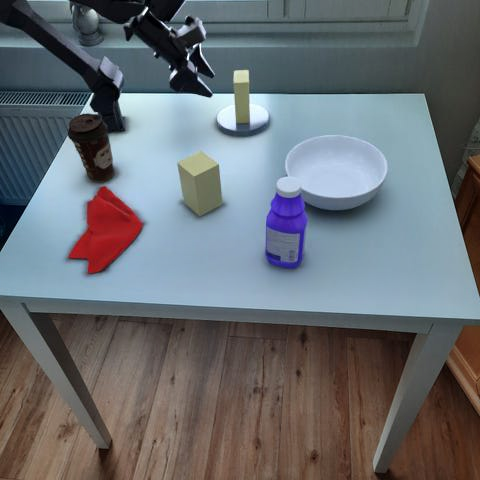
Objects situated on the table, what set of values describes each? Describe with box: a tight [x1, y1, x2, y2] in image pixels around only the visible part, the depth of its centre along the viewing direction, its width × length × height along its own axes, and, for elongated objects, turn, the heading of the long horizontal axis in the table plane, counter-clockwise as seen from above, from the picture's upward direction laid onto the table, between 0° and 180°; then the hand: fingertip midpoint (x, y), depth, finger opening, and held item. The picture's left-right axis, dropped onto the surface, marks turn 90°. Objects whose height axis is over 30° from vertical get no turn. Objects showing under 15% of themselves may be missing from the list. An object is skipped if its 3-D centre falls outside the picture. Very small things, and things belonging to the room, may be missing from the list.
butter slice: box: [233, 69, 251, 123], centre depth 114 cm, size 4×6×10 cm, turn 0°
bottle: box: [264, 176, 308, 269], centre depth 83 cm, size 7×6×17 cm
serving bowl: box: [284, 134, 389, 211], centre depth 99 cm, size 21×21×7 cm
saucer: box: [216, 103, 270, 138], centre depth 119 cm, size 13×13×2 cm
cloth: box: [67, 185, 144, 275], centre depth 96 cm, size 26×14×2 cm, turn 177°
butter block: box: [176, 150, 224, 217], centre depth 97 cm, size 6×6×10 cm
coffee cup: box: [67, 112, 116, 183], centre depth 103 cm, size 9×8×13 cm
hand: (212, 86), depth 112 cm, fingers open, 9 cm apart
